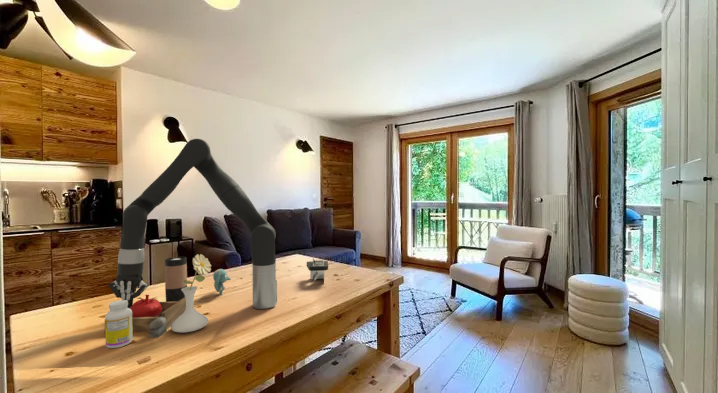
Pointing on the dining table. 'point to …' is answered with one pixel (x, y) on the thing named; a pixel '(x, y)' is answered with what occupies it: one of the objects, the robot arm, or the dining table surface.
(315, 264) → the black-topped pedestal
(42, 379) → the dining table surface
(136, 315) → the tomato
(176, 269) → the travel mug
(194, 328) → the flower in vase
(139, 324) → the brown wooden open box
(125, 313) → the supplement bottle
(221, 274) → the teal character figurine
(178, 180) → the robot arm
